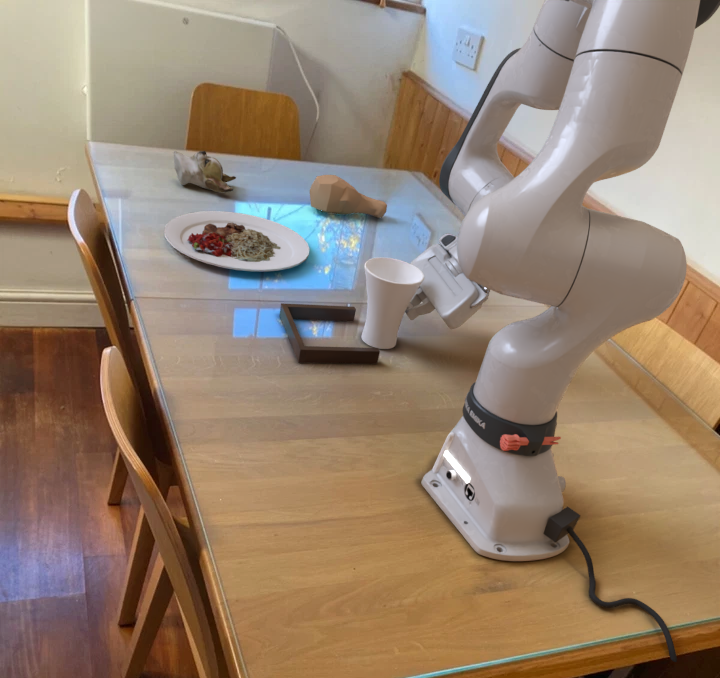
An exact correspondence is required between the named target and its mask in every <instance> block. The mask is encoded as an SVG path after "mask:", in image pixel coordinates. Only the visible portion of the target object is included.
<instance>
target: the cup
mask: <svg viewBox="0 0 720 678" xmlns="http://www.w3.org/2000/svg"><path fill="white" fill-rule="evenodd" d="M410 263H411V262H407V261H404V260H401V259H398V258H392V257H384V256H383V257H373V258H369V259H367V260H366V261H365V262H364V276H365V285H366V297H367V303H366V306H367V307H366V317H365V323H364V326H363V329H362V333H361V337H360V338H361V340H362V341H363V343H364V344H366V345H368V346H370V347H371V348H378V349H379V350H390V349H393V348H394V347H396V346H397V340H398V334H399V329H400V326H401V323H402V319H403V318H404V315H405V314H406V313H405V311H406V308H407V306H408V304H409V303H410V301H411V299H412V298H413V296H414V294H415V293H416V291H417V290H418V288H419V286H420V285H421V283H422V282H423V280H424V274H423V272H422V271H421V270H420V269H419V268H417V267H415V266H414V265H412V264H410Z"/></svg>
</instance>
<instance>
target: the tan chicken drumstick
mask: <svg viewBox="0 0 720 678" xmlns="http://www.w3.org/2000/svg"><path fill="white" fill-rule="evenodd" d="M309 201H310V206H311V207H312V208H314V209H316V210H318V211H319V212H322V213H326V214H332V215H342V216H347V215H353V214H359V215H360V214H361V215H366V216H367V215H368V216H372V217H374V218H376V219H382V218H384V216H385V214H386V213H387V208H388V204H387V203H386V202H385V201H383V200H380V199H375V198H373V197H369V196H367V195H365V194H362V193H361V192H359V191H358V190H357V189H356V188H355V187H354V186H353V185H351V184H350V183H349V182H348V181H346V180H345V179H343V178H341V177H340V176H338V175H336V174H322V175H317V176H316V177H315V178H314V180H313V182H312V184H311V185H310V187H309ZM321 210H322V211H321Z"/></svg>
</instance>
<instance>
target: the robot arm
mask: <svg viewBox="0 0 720 678" xmlns="http://www.w3.org/2000/svg"><path fill="white" fill-rule="evenodd" d="M719 8H720V0H544V1H543V4H542V5H541V8H540V10H539V12H538V14H537V17H536V20H535V22H534V25H533V27H532V29H531V31H530V33H529V36H528V37H527V39H526V41H525V42H524V43H523V45H522V46H521V47H518V48H515V49H514V50H512V51H511V52H510V53H508V54H507V55H506V56H505V57H504V58H503V59H502V61H501V62H500V63H499V65H498V66H497V68H496V70H495V71H494V73H493V74H492V76H491V78H490V80H489V82H488V84H487V85H486V87H485V89H484V91H483V93H482V95H481V97H480V98H479V100H478V103H477V105H476V106H475V109H474V111H473V112H472V114H471V116H470V118H469V120H468V122H467V124H466V125H465V128H464V130H463V131H462V133H461V135H460V137H459V139H458V141H457V142H456V143H455V145H454V146H453V147H452V148H451V150H450V151H449V152H448V153H447V155H446V156H445V158H444V160H443V162H442V164H441V167H440V171H439V179H438V183H439V184H438V185H439V187H440V188H439V189H440V191H441V193H442V194H443V195H444V196H445V197H446V198H447V199H448V200H450V202H451V203H452V204H453V205H454V206H456V208H457V209H458V210H459V212H461V214H462V215H463V216H464V217H463V219H462V221H461V223H460V227H459V229H458V232H457V235H455V234H451V233H449V232H447V233H444V234H442V235H441V236H440V237H439V239H438V243H433V244H432V245H431V246H429V247H428V248H426V249H425V250H424V251H422V252H421V253H420V254H419V255H417V256H416V257H415V258H414V259H412V261H410V262H409V263H410V264H412V265H414V266H415V267H417V268H419V269H420V270H421V271H422V272H423V274H424V280H423V282H422V283H421V285H420V286H419V287H420V288H419V289H418V290H417V291H416V293H415V294H414V296H413V298H412V299H411V301H410V303H409V304H408V306H407V308H406V311H405V313H404V314H406V316H407V317H408V319H409V320H410V321H414V320H415V319H417V318H418V317H420V316H422V315H427V314H431V313H432V312H433V311H436V312H437V313H438V315H439V317H440V318H441V319H442V320H443V322H444V324H445V325H446V326H447V327H448V329H449V330H455V329H458V328H460V327H461V326H462V325H463V324H465V323H466V322H467V321H468V320H469V319H470V318H472V316H474V315H475V314H476V313H477V312H478V311H479V310H480V309H481V308H482V306H483V305H484V303H485V302H487V300H488V299H489V296H490V292H491V291H492V292H495V293H497V294H499V295H503V296H506V297H511V298H515V299H521V300H525V301H528V302H533V303H536V304H542V305H545V306H546V305H547V306H549V307H548V308H547V309H546V310H544V311H543V312H541V313H540V314H537V315H535V316H533V317H530V318H526V319H521V320H517V321H513V322H511V323H509V324H507V325H505V326H504V327H502V328H501V329H500V330H498V331H497V332H496V333H495V334H494V335H493V336H492V337H491V339H490V340H489V342H488V345H487V348H486V351H485V354H484V356H483V359H482V362H481V365H480V368H479V371H478V373H477V377H476V380H475V381H474V382H473V383H472V384H471V386H470V388H469V390H468V392H467V393H466V396H465V399H464V404H463V406H462V416H461V417H460V419H459V420H458V422H457V423H456V424H455V426H454V427H453V428H452V429H451V430H450V431H449V433H448V434H447V436H446V438H445V440H444V442H443V445H442V447H441V449H440V451H439V453H438V456H437V457H436V459H435V462H434V464H433V467H432V468H431V469H430V470H429V471H428V472H426V473H425V474H424V475H423V477H422V479H421V481H420V482H421V485H422V487H423V488H424V489H425V491H426V492H427V493H428V494H429V496H430V497H431V499H432V500H433V501H434V502H435V503H436V504H437V506H438V507H439V509H441V511H442V512H443V513H444V514H445V515H446V517H447V518H448V520H449V521H450V522H451V523H452V524H453V526H454V527H455V528H456V530H458V532H459V533H460V534H461V536H462V537H463V538H464V539H465V540H466V542H467V543H468V544H469V545H470V547H471V548H472V549H473V550H474V551H475V552H476V553H477V554H478V555H479V556H483V557H485V558H488V559H494V560H497V561H498V560H499V561H503V562H505V561H506V562H528V561H529V562H530V561H538V560H544V559H549V558H552V557H555V556H558V555H560V554H561V553H563V552H564V551H566V549H568V547H569V545H570V538H569V536H570V537H571V539H572V540H573V542H575V544H576V545H577V546H578V548H579V549H580V551H581V553H582V555H583V557H584V559H585V562H586V567H587V573H588V574H587V575H588V578H589V587H588V595H589V599H590V600H591V601H592V602H593V603H594V604H596V605H597V606H599V607H602V608H605V609H612V608H617V607H622V606H624V605H633V606H636V607H638V608H640V609H641V610H643V611H644V612H646V613H647V614H648V615H650V616H651V617H652V618H653V619H654V620H655V621H656V623H657V624H658V626H659V628H660V630H661V632H662V634H663V636H664V640H665V643H666V646H667V650H668V654H669V659H671V661H672V662H673V663H677V662H678V657H677V652H676V648H675V645H674V642H673V641H674V640H673V638H672V635H671V632H670V630H669V628H668V626H667V624H666V622H665V620H664V619H663V618H662V617H661V616H660V614H658V613H657V612H656V611H655V610H654V609H653V608H652V607H650V606H649V605H647V604H646V603H644V602H643V601H640V600H638V599H636V598H632V597H626V598H621V599H617V600H614V601H604V600H601V599H600V598H599V597H598V596H597V595H596V587H597V583H596V576H595V571H594V563H593V559H592V557H591V555H590V554H591V553H590V552H589V550H588V549H587V547H586V545H585V544H584V542H583V541H582V540H581V538H580V537H579V536H578V535H577V533H576V532H575V531H574V529H575V527H576V525H577V523H578V521H579V520H580V518H581V515H580V514H579V513H578V512H576V511H575V510H574V509H572V508H571V507H570V506H566V507H564V504H565V500H564V496H563V492H564V491H565V490H566V485H567V481H566V478H565V477H564V476H562V475H559V474H558V470H557V466H556V461H555V458H554V457H555V455H554V452H553V448H552V447H553V446H555V445H559V442H557V441H559V440H561V439H562V437H561V436H556V435H555V434H556V430H557V426H558V425H557V424H558V422H557V421H558V409H559V407H560V404H561V402H562V400H563V398H564V397H565V394H566V392H567V390H568V388H569V386H570V384H571V383H572V381H573V379H574V377H575V375H576V374H577V372H578V370H579V369H580V367H581V366H582V365H583V363H584V362H585V361H586V360H587V359H588V357H589V356H591V355H592V353H594V352H595V351H597V349H598V348H600V347H601V346H602V345H604V343H606V342H607V341H608V340H610V339H612V338H613V337H615V336H617V335H618V334H620V333H622V332H623V331H626V330H628V329H630V328H633V327H635V326H637V325H640V324H644V323H647V322H651V321H652V320H655V319H656V318H658V317H660V316H661V315H662V314H664V312H666V311H667V310H668V309H669V308H670V307H671V306H672V305H673V304H674V302H675V301H676V300H677V298H678V297H679V295H680V293H681V291H682V289H683V286H684V284H685V280H686V277H687V266H688V265H687V263H688V262H687V256H686V255H687V254H686V252H685V249H684V246H683V244H682V242H681V240H680V239H679V238H678V237H676V236H673V235H672V234H670V233H668V232H666V231H664V230H662V229H660V228H658V227H656V226H653V225H652V224H649V223H647V222H645V221H642V220H638V219H634V218H630V217H625V216H621V215H617V214H614V213H610V212H609V213H608V212H605V211H600V210H595V209H593V208H592V209H591V208H588V207H586V206H584V205H583V203H584V200H585V197H586V195H587V194H588V191H589V189H590V188H591V187H592V186H593V184H594V183H596V182H599V181H600V182H601V181H604V180H609V179H612V178H615V177H619V176H623V175H625V174H628V173H631V172H634V171H636V170H638V169H640V168H641V167H643V166H644V165H645V164H647V163H648V162H649V161H650V160H651V159H652V157H654V155H655V153H656V152H657V151H658V150H659V147H660V144H661V141H662V138H663V136H664V132H665V129H666V127H667V123H668V120H669V117H670V114H671V111H672V108H673V105H674V102H675V99H676V96H677V94H678V89H679V87H680V84H681V81H682V77H683V74H684V71H685V68H686V65H687V62H688V59H689V55H690V50H691V47H692V44H693V43H692V42H693V39H694V34H695V30H696V29H698V28H699V27H701V26H702V25H703V24H704V23H706V22H708V21H709V20H710V19H711V18H712V17H713V16H714V15H715V14H716V12H717V10H718V9H719ZM521 105H524V106H527V107H530V108H533V109H536V110H541V111H542V110H543V111H557V114H556V117H555V119H554V122H553V125H552V128H551V130H550V132H549V135H548V136H547V139H546V140H545V142H544V143H543V145H542V147H541V149H540V150H539V152H538V153H537V154H536V156H535V157H534V158H533V160H532V161H531V162H530V163H529V164H528V165H527V166H526V167H525V169H523V170H522V171H521V172H519V174H518V175H517V176H514V175H513V174H512V173H511V171H510V169H508V168H507V167H506V165H505V164H504V163H503V162H502V160H501V158H500V156H499V153H498V143H499V142H500V140H501V138H502V136H503V135H504V133H505V131H506V129H507V127H508V126H509V124H510V122H511V121H512V119H513V117H514V116H515V113H516V112H517V110H518V109H519V108H520V106H521ZM568 535H569V536H568Z"/></svg>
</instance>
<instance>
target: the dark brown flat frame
mask: <svg viewBox="0 0 720 678" xmlns="http://www.w3.org/2000/svg"><path fill="white" fill-rule="evenodd" d="M356 312H357V308H356V307H355V306H348V305H347V306H346V305H325V304H304V303H285V302H284V303H283V302H281V303H280V308H279V318H280V321H281V323H282V327H283V329H284V331H285V333H286V336H287V338H288V340H289V343H290V346H291V348H292V350H293V353H294V355H295V358H296V361H297V362H298V363H299V364H300V363H301V364H350V365H351V364H357V365H378V361H379V357H380V353H381V351H380V349H379V348H375V347H358V346H357V347H354V346H320V345H319V346H317V345H315V346H314V345H313V346H312V345H305V344H304V341H303V339H302V337H301V335H300V332H299V330H298V327H297V325H296V323H295V320H300V321H324V322H325V321H327V322H330V321H331V322H349V323H350V322H352V323H354V321H355V316H356Z"/></svg>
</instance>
